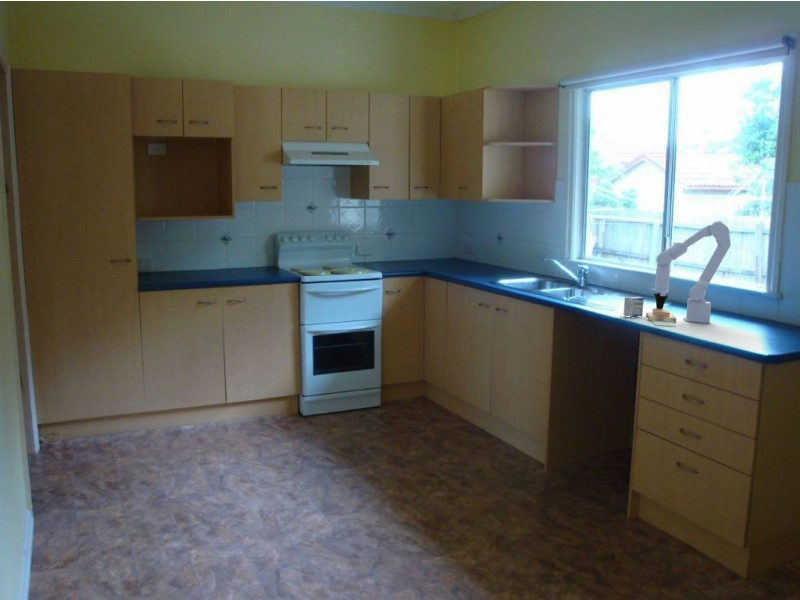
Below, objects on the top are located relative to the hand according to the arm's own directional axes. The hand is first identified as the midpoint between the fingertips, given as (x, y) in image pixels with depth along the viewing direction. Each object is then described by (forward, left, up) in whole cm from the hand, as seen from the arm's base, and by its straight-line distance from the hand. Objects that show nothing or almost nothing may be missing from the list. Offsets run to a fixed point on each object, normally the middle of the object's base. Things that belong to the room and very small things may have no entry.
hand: (659, 310), depth 323 cm
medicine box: (+11, +4, -3) cm, 12 cm away
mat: (0, +18, -3) cm, 18 cm away
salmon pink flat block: (0, +6, -1) cm, 6 cm away
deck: (0, +7, -3) cm, 8 cm away
